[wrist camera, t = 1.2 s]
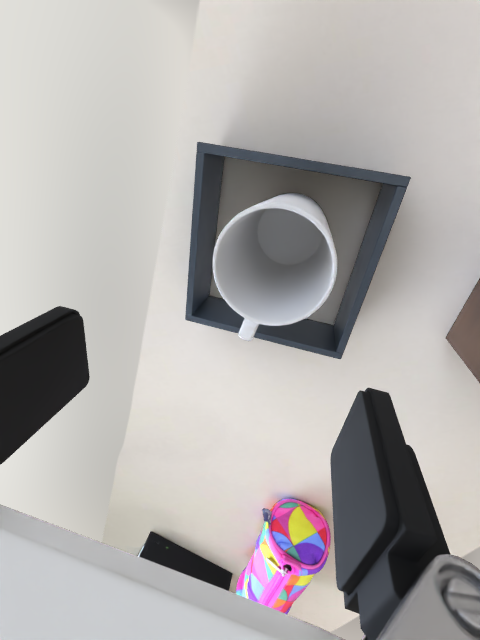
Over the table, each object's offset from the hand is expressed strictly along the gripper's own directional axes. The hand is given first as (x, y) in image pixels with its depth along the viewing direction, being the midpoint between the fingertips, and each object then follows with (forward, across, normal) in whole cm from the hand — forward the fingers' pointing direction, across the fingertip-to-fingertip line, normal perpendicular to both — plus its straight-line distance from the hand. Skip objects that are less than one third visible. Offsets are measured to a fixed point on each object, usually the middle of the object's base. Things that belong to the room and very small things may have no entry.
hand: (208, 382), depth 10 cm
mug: (+20, 0, 0) cm, 20 cm away
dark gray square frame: (+20, 0, 0) cm, 20 cm away
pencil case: (+21, -10, +44) cm, 49 cm away
